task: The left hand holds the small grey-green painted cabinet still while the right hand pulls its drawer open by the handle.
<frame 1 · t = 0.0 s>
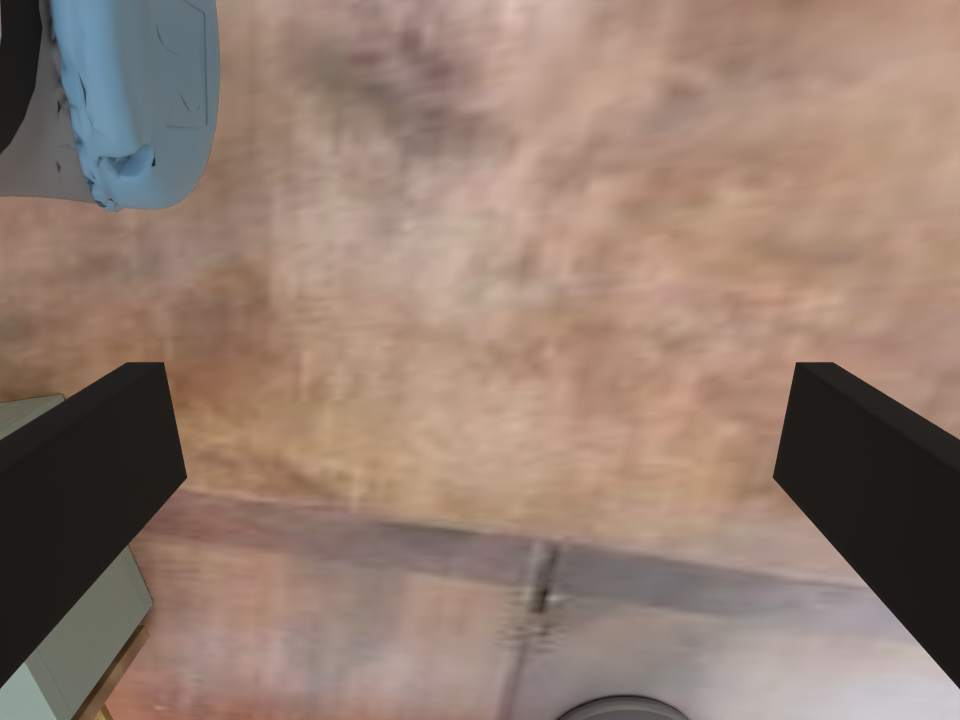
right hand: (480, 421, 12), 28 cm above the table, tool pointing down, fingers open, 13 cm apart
cabinet: (42, 515, 46), on the table
drawer: (21, 630, 43), point 6 cm above the table, slide at 1.2 cm
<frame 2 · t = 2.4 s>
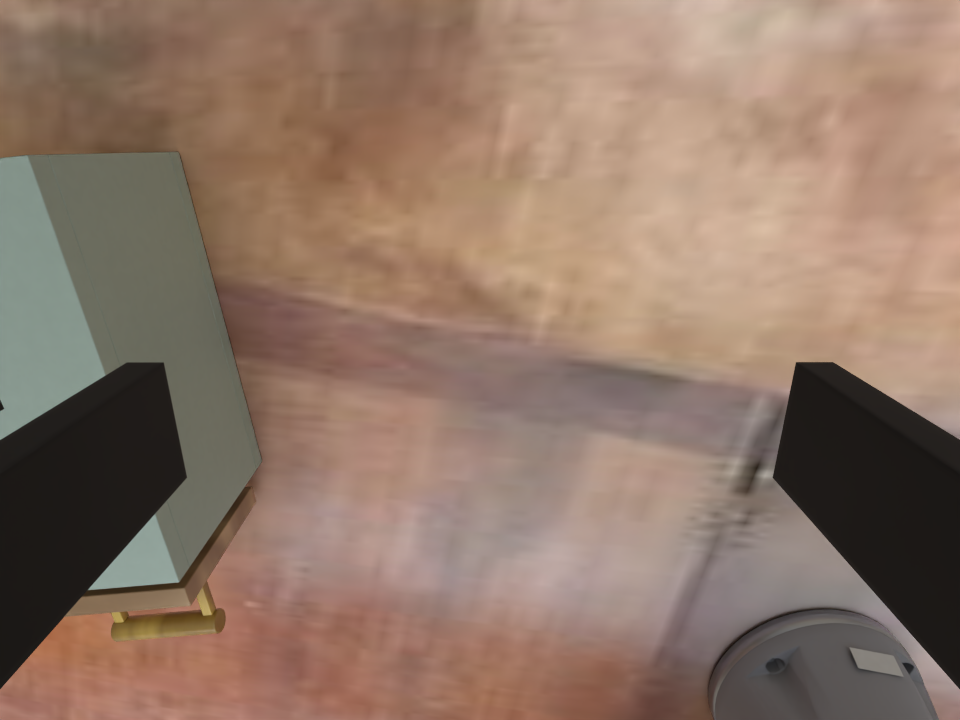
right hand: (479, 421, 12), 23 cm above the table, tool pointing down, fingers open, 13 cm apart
cabinet: (132, 330, 36), on the table
drawer: (109, 466, 32), point 6 cm above the table, slide at 1.2 cm
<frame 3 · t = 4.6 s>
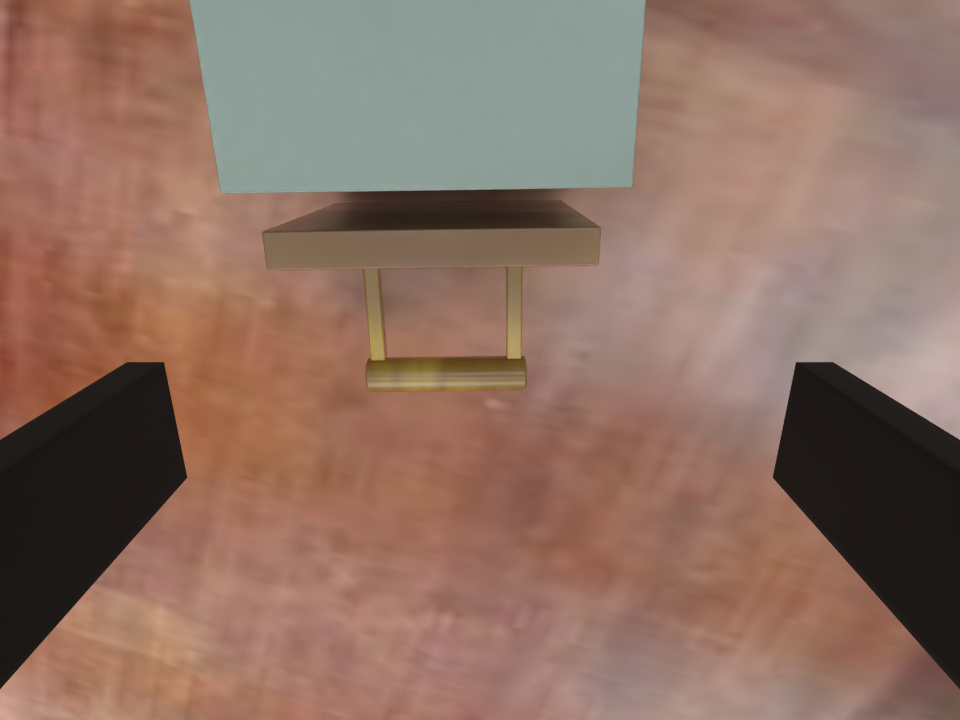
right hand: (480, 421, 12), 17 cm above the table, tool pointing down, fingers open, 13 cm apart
drawer: (435, 70, 20), point 6 cm above the table, slide at 1.2 cm
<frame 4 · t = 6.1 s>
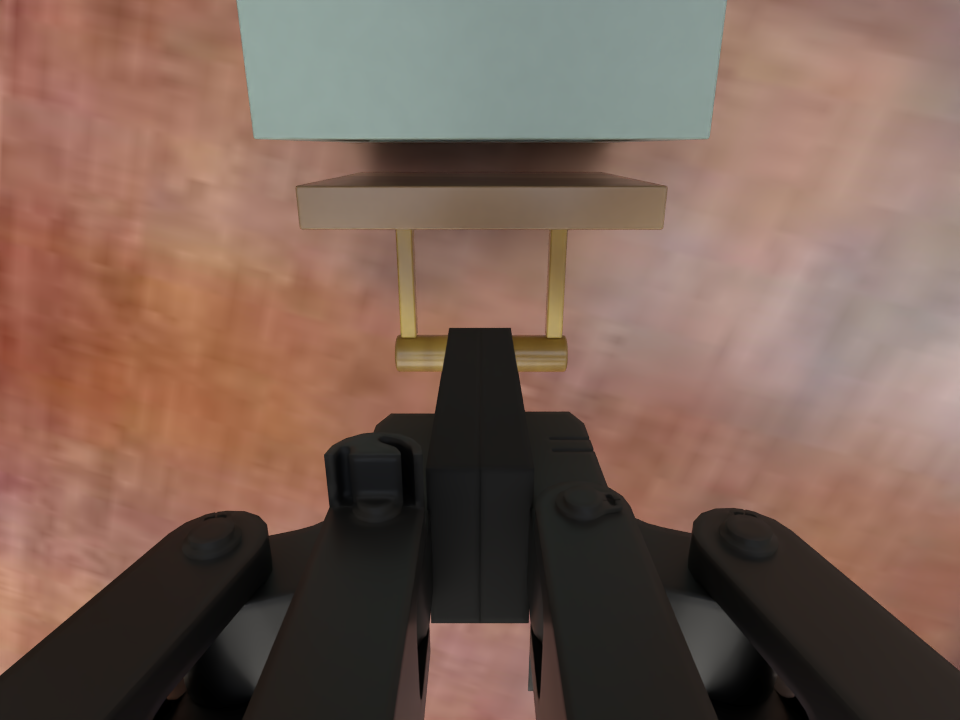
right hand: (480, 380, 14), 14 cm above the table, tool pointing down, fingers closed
drawer: (481, 19, 19), point 6 cm above the table, slide at 1.2 cm
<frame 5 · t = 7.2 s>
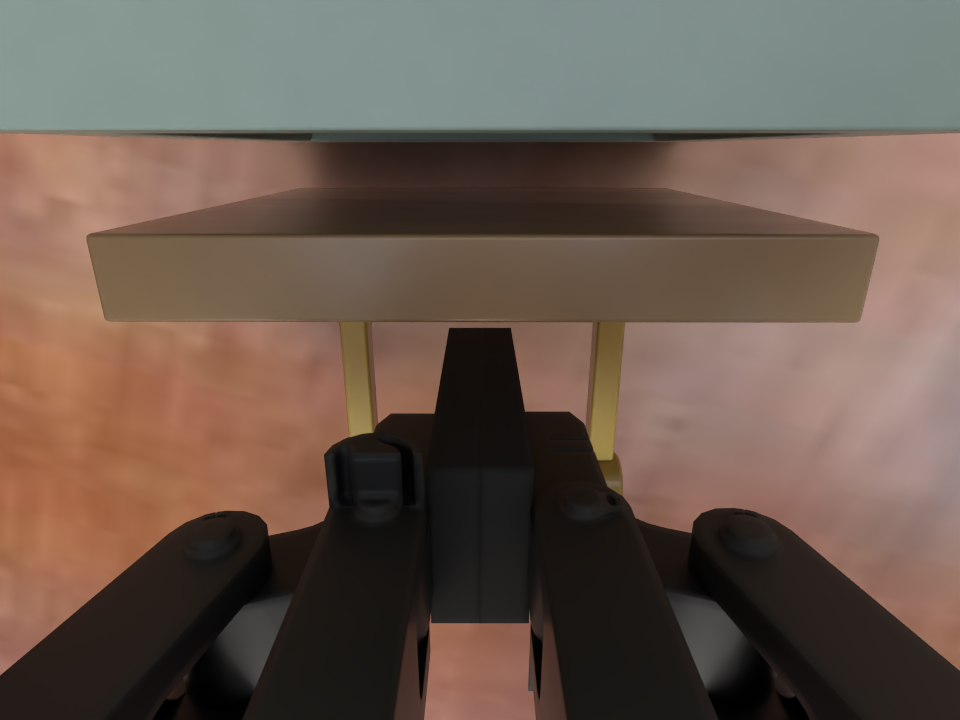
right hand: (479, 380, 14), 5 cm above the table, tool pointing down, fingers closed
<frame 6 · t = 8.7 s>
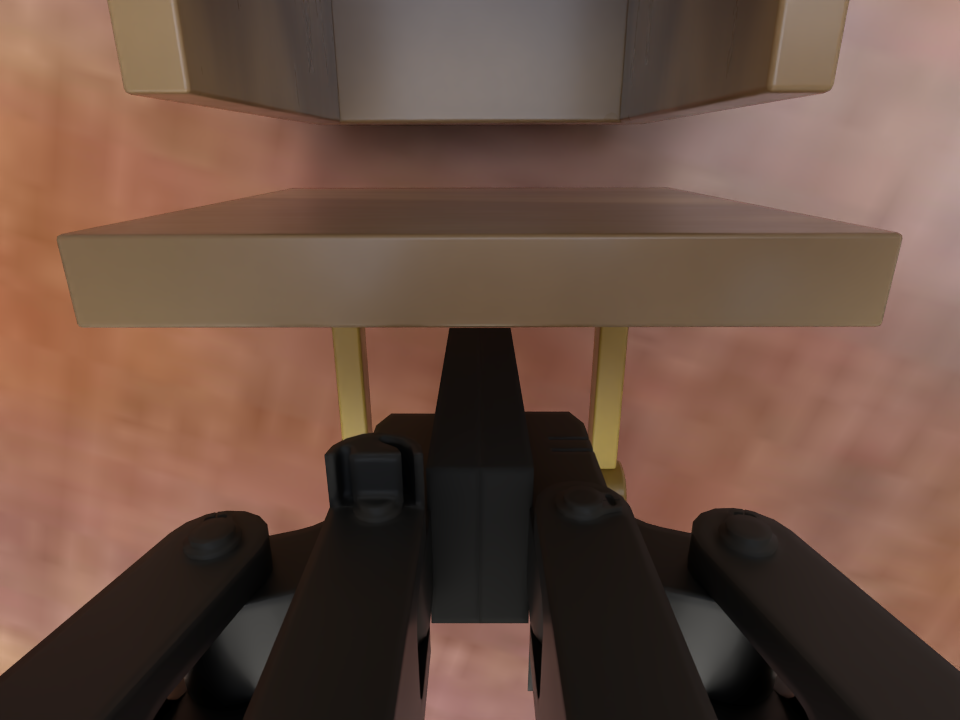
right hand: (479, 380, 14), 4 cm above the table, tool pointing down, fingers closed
when the left hand's fingers open (7 cm above the table, at t = 10.5 s): cabinet stays where it is, on the table.
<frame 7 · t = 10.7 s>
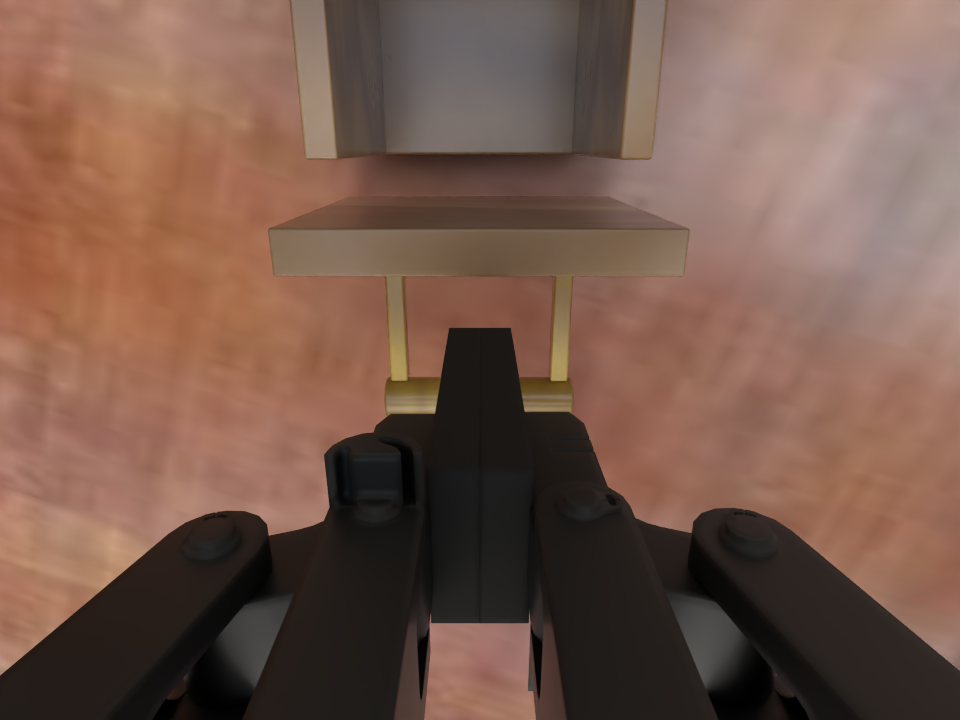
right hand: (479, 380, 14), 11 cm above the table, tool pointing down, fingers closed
drawer: (479, 36, 17), point 6 cm above the table, slide at 8.7 cm
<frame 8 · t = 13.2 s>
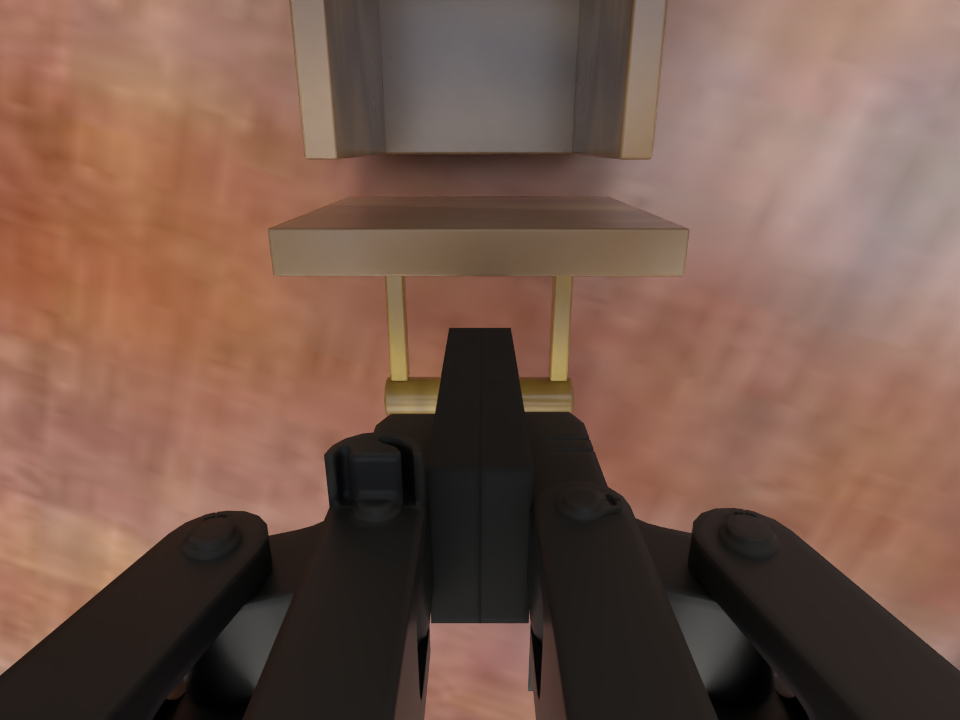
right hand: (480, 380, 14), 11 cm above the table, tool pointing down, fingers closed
drawer: (479, 36, 17), point 6 cm above the table, slide at 8.7 cm
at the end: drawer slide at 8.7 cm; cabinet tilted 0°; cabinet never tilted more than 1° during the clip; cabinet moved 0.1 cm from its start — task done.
